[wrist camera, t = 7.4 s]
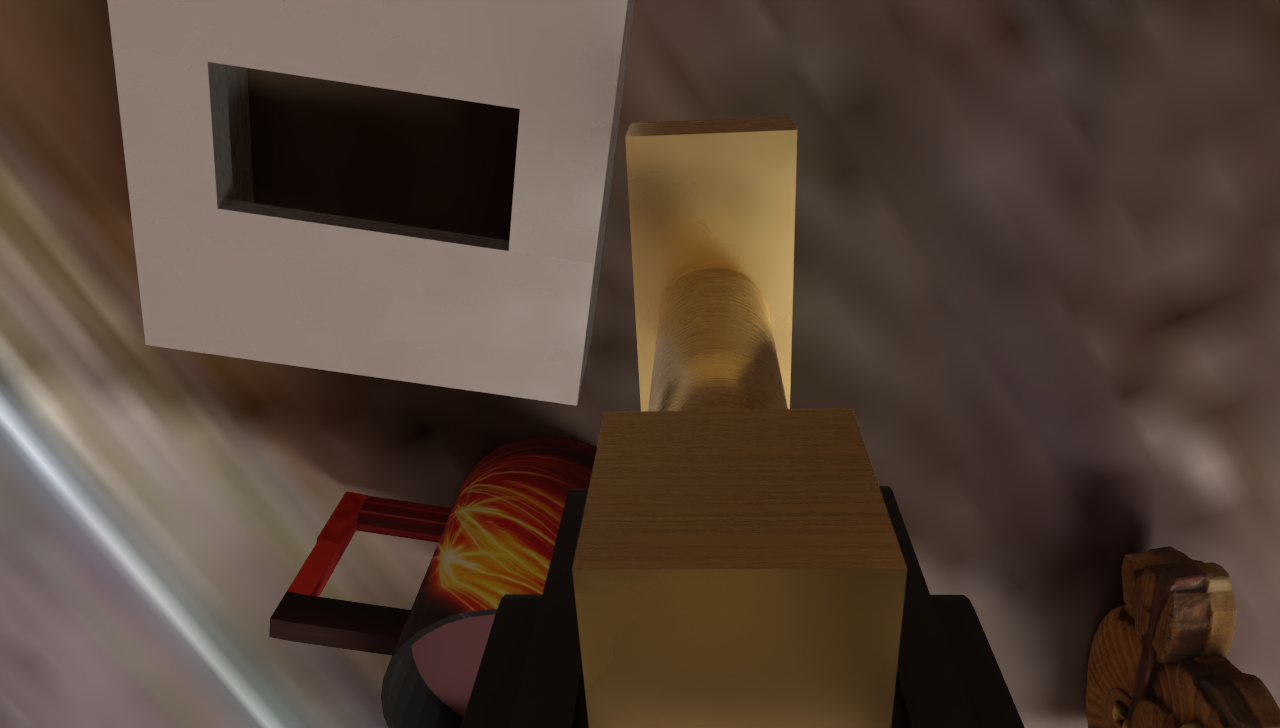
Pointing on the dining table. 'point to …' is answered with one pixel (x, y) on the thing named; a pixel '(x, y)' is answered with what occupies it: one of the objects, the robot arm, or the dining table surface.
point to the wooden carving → (1172, 652)
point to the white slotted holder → (358, 248)
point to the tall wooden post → (729, 472)
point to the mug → (442, 575)
